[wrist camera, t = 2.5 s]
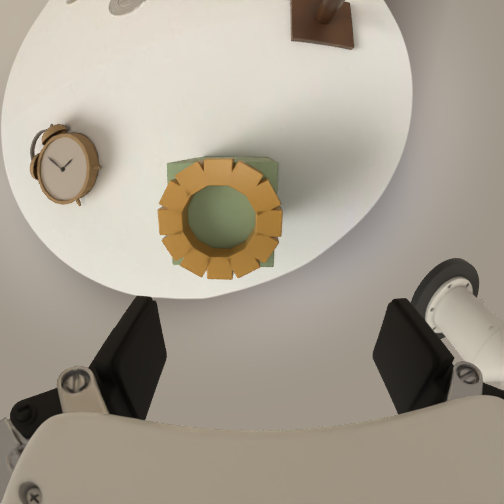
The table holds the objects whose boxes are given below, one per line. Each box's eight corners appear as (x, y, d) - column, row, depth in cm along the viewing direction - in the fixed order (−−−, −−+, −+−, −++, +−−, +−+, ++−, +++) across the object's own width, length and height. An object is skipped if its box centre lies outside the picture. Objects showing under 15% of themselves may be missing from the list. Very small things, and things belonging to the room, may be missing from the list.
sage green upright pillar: (267, 157, 36) (278, 162, 21) (265, 220, 39) (273, 267, 24) (201, 157, 36) (166, 163, 21) (202, 219, 39) (172, 264, 24)
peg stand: (347, 5, 26) (370, -24, 16) (351, 49, 29) (379, 25, 20) (290, -4, 26) (299, -39, 16) (291, 40, 29) (303, 10, 20)
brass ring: (282, 159, 21) (284, 160, 19) (276, 270, 24) (278, 280, 22) (163, 159, 21) (155, 161, 19) (170, 267, 24) (163, 277, 22)
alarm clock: (72, 219, 36) (13, 172, 30) (84, 208, 40) (28, 165, 34) (103, 159, 32) (38, 111, 26) (115, 154, 37) (54, 110, 31)
